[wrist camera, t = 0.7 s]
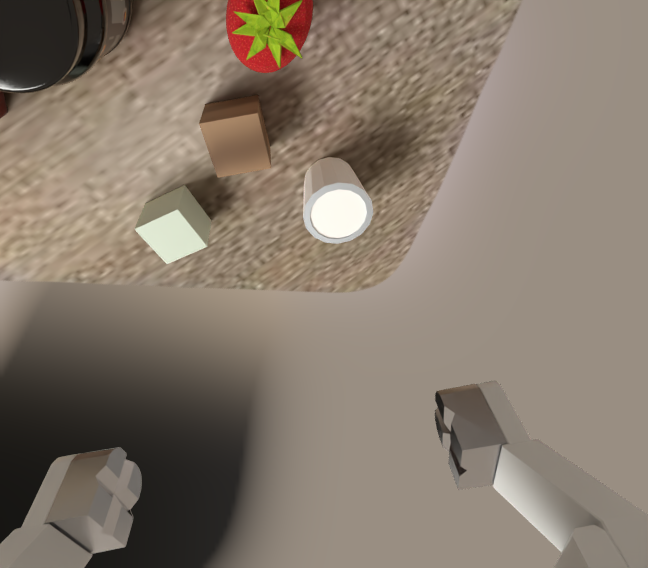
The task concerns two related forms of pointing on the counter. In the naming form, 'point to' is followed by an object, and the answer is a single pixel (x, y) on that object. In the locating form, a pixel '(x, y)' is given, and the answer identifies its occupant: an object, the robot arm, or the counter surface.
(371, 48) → the counter surface
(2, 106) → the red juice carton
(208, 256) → the counter surface
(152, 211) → the sage block
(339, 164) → the shot glass
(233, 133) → the walnut block
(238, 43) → the strawberry
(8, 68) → the supplement container
